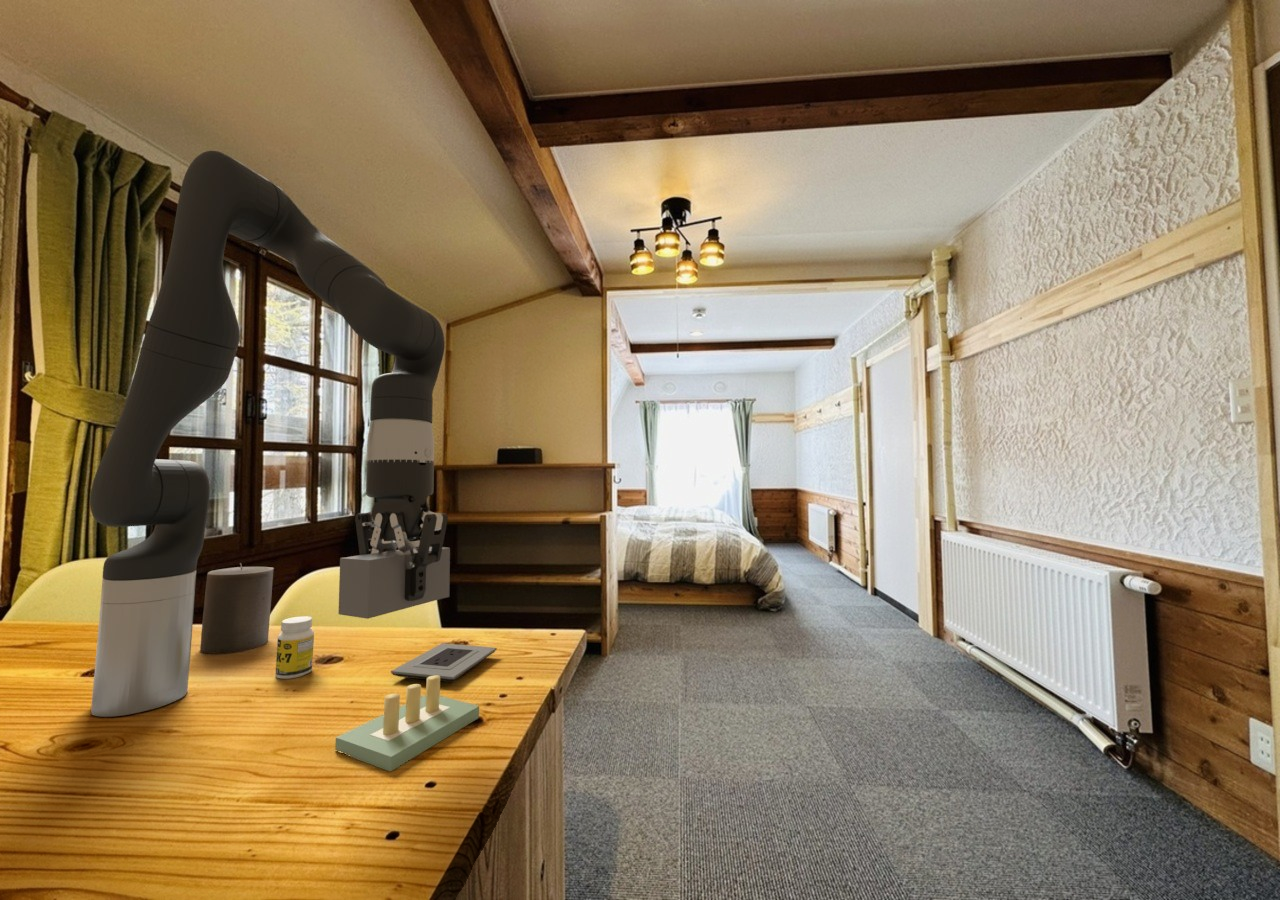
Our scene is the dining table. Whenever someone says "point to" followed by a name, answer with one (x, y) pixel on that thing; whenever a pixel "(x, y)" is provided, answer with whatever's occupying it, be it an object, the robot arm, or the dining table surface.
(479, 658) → the electrical outlet
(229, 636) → the pillar candle
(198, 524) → the robot arm
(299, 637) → the supplement bottle
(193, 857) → the dining table surface
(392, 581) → the block
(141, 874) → the dining table surface
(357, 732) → the header board
